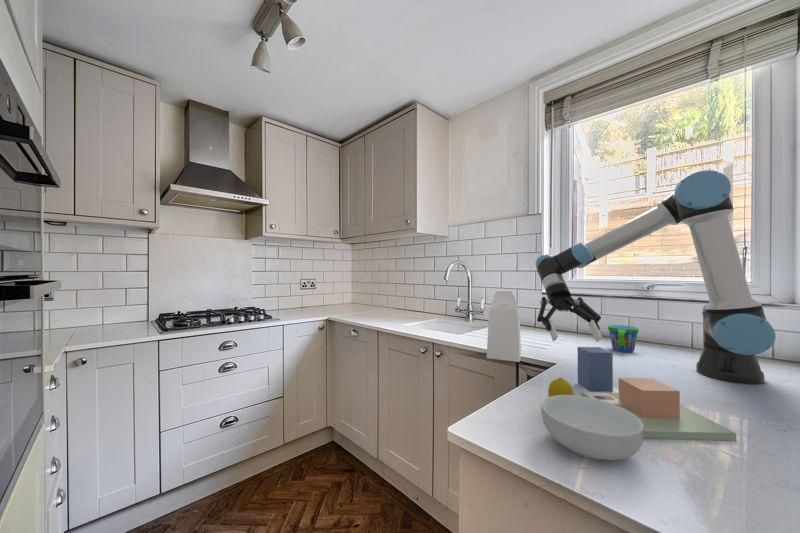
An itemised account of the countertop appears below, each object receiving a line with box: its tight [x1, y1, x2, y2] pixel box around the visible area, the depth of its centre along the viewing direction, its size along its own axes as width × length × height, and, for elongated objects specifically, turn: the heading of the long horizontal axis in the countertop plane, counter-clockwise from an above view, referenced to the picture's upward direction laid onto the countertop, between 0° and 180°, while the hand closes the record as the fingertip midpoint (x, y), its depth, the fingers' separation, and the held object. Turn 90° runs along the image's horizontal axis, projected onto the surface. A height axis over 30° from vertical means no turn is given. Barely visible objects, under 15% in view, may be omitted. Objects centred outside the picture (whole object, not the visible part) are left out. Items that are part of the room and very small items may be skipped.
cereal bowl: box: [540, 394, 644, 461], centre depth 60 cm, size 17×17×7 cm
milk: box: [486, 290, 522, 363], centre depth 124 cm, size 12×12×26 cm
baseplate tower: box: [580, 377, 737, 442], centre depth 73 cm, size 20×20×8 cm
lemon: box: [548, 377, 575, 397], centre depth 76 cm, size 6×6×8 cm
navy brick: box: [577, 346, 614, 393], centre depth 91 cm, size 6×6×11 cm
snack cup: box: [607, 324, 639, 353], centre depth 132 cm, size 16×10×10 cm
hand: (577, 339), depth 99 cm, fingers open, 13 cm apart
